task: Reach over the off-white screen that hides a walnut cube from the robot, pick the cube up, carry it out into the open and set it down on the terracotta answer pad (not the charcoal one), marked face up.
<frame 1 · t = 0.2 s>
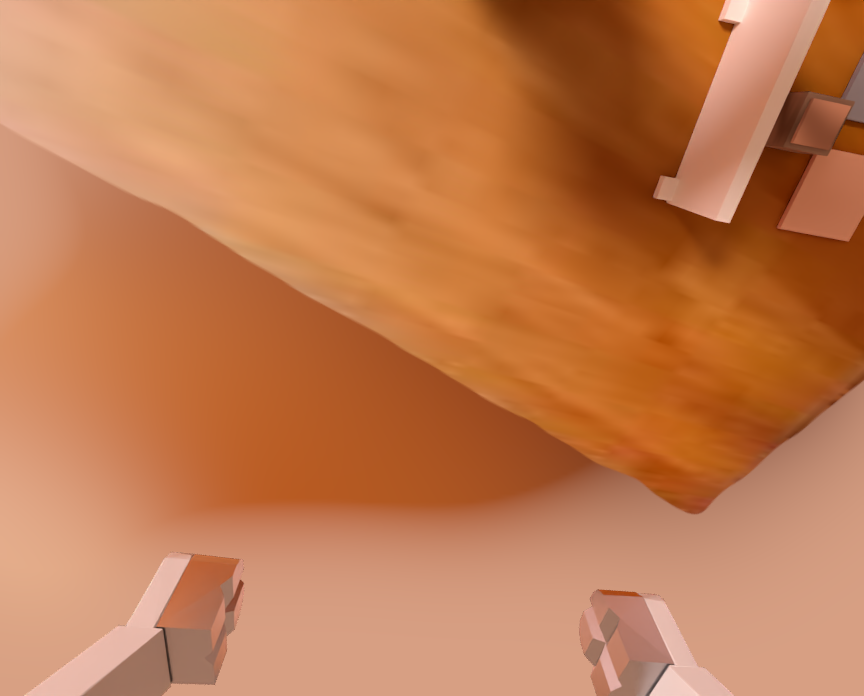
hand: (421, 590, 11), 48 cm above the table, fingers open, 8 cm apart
letter cube: (785, 123, 50), on the table
screen: (709, 107, 49), on the table
answer pad: (831, 195, 54), on the table
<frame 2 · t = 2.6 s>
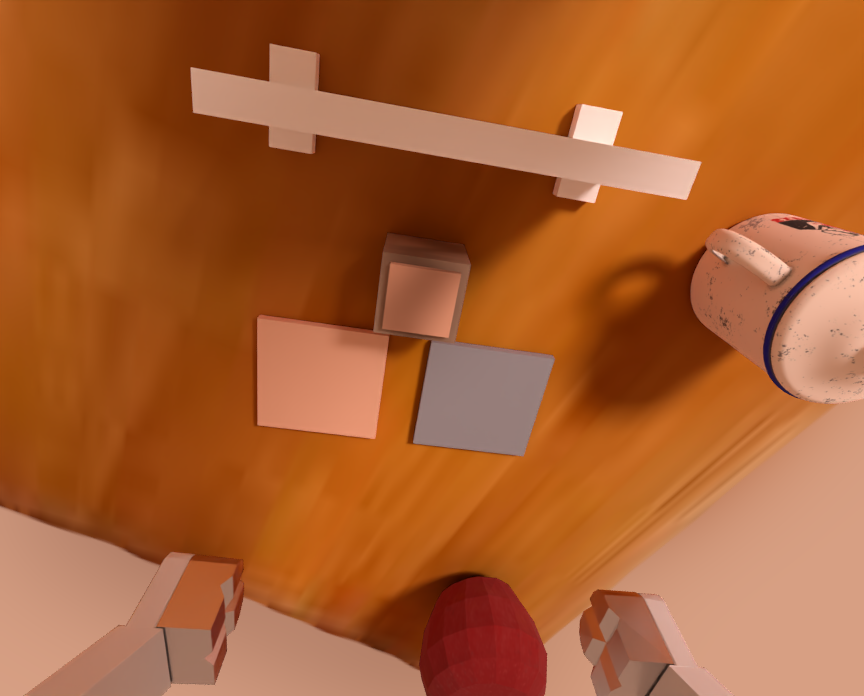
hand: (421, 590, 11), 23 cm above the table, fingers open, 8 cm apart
apple: (474, 585, 46), on the table
letter cube: (420, 274, 31), on the table
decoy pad: (479, 398, 36), on the table
teacup with lid: (735, 264, 32), on the table
screen: (443, 128, 27), on the table
answer pad: (321, 378, 35), on the table
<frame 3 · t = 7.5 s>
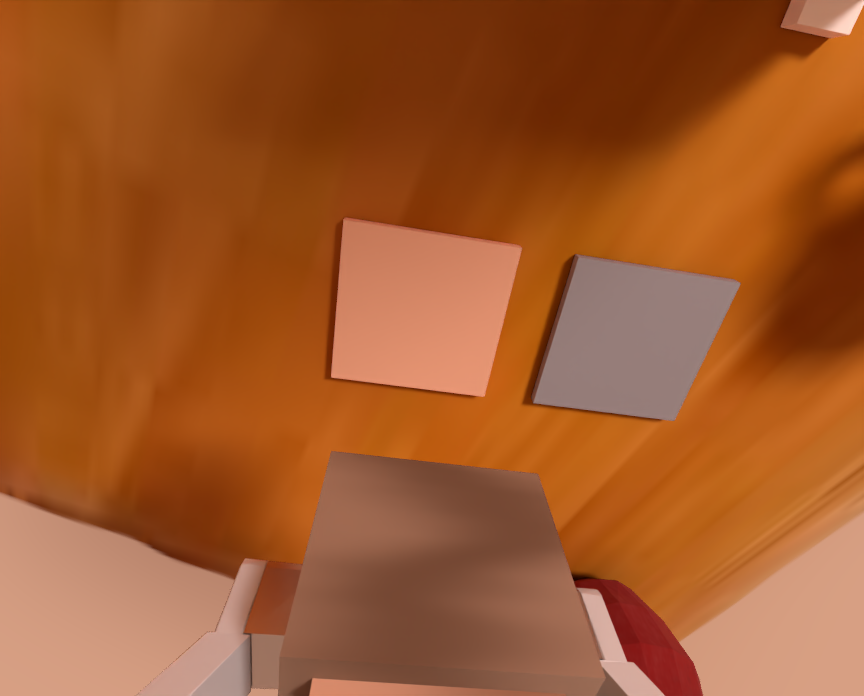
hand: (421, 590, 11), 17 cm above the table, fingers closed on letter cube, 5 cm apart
apple: (579, 590, 37), on the table
letter cube: (420, 536, 12), point 15 cm above the table, touching gripper
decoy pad: (626, 341, 27), on the table
answer pad: (420, 312, 26), on the table
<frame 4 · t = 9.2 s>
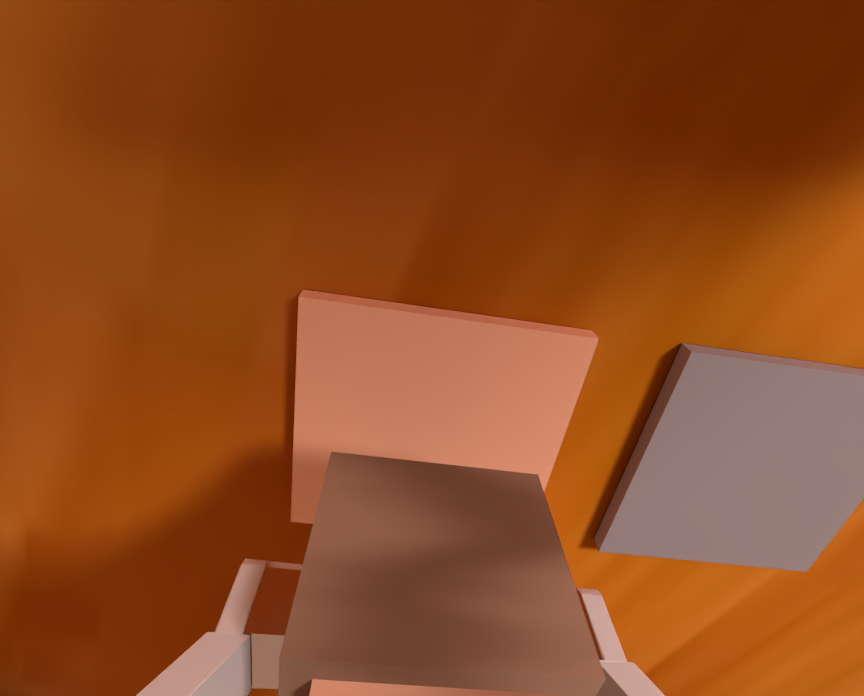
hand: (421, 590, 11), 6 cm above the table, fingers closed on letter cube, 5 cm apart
letter cube: (420, 536, 12), point 5 cm above the table, touching gripper
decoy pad: (747, 466, 17), on the table
answer pad: (428, 428, 16), on the table
when the fingers open (4 cm above the table, at t = 10.2 s): letter cube drops 1 cm, resting on answer pad.
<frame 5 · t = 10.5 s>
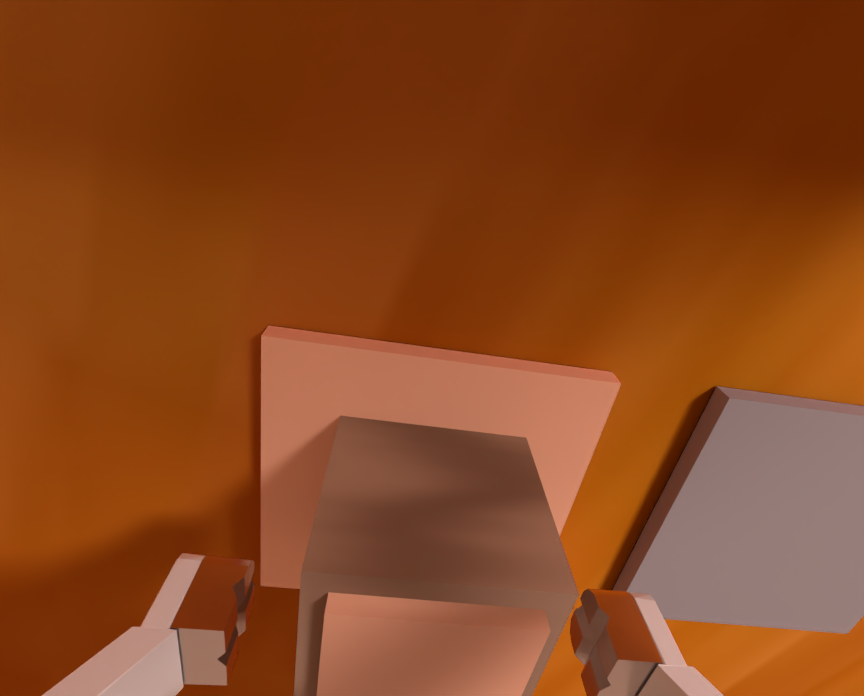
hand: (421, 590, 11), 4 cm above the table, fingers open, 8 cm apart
letter cube: (420, 496, 13), point 1 cm above the table, touching answer pad
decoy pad: (784, 520, 15), on the table
answer pad: (420, 481, 14), on the table
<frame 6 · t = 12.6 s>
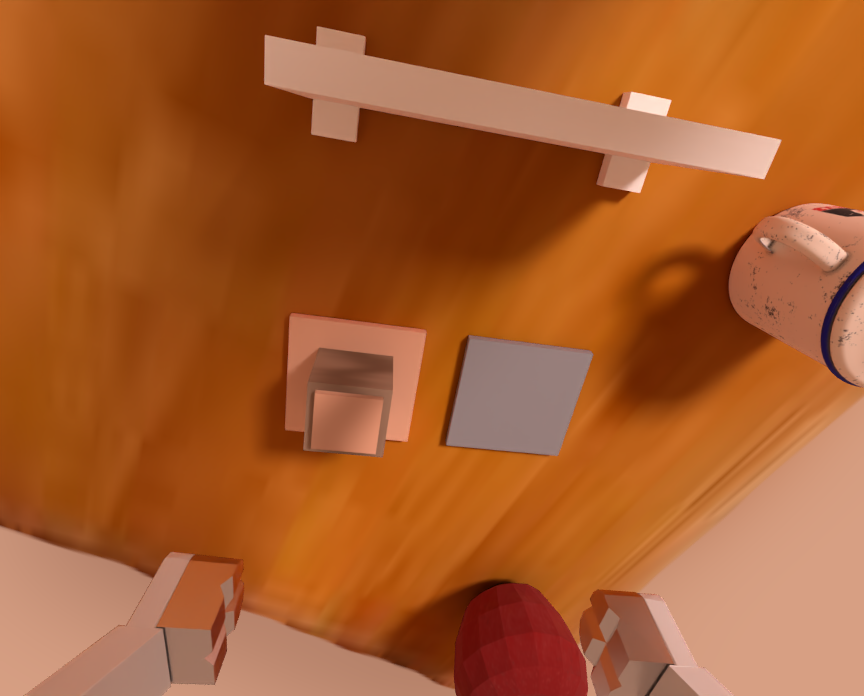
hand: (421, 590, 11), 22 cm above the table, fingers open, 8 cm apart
apple: (501, 593, 45), on the table
letter cube: (353, 383, 33), point 1 cm above the table, touching answer pad
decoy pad: (515, 397, 35), on the table
teacup with lid: (772, 255, 32), on the table
screen: (489, 117, 27), on the table
answer pad: (353, 379, 33), on the table
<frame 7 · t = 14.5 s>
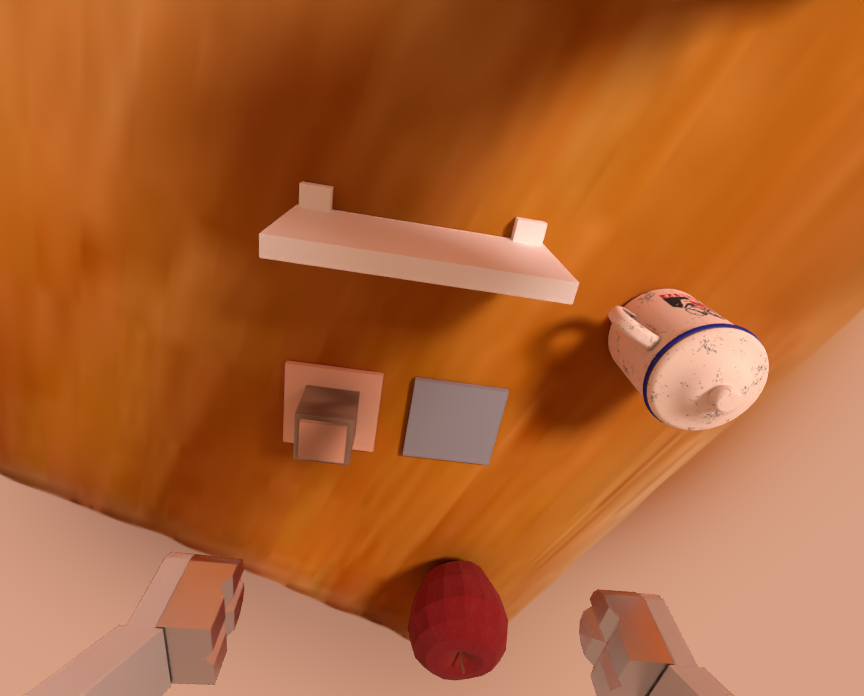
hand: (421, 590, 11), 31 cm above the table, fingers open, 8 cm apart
apple: (453, 569, 57), on the table
letter cube: (331, 410, 45), point 1 cm above the table, touching answer pad
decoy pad: (453, 421, 47), on the table
teacup with lid: (641, 323, 43), on the table
screen: (421, 233, 38), on the table
answer pad: (332, 406, 45), on the table
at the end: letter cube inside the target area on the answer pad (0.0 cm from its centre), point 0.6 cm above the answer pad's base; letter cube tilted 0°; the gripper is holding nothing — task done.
